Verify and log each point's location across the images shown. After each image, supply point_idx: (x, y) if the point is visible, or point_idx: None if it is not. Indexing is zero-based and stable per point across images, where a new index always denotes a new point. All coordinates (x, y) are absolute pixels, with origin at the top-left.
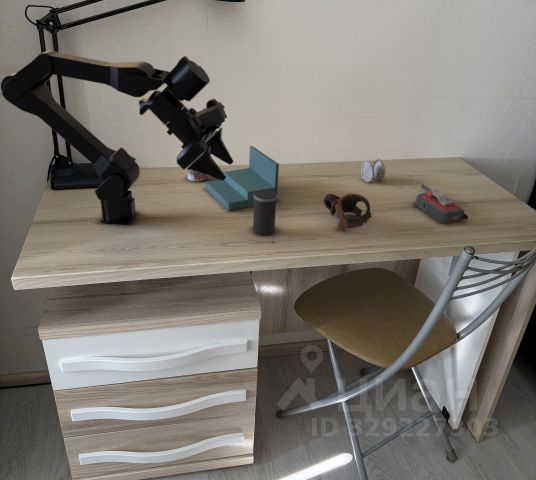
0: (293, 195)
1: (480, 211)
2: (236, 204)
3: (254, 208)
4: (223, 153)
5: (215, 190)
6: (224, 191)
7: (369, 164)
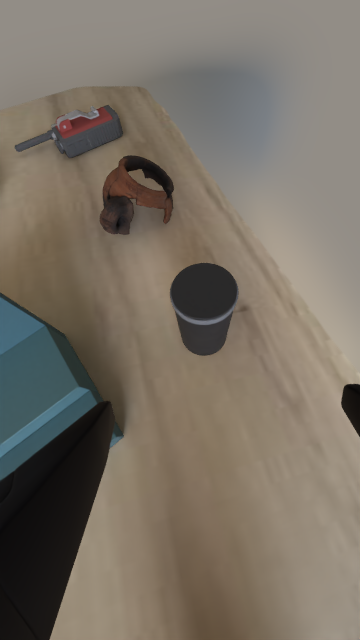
0: (34, 308)
1: None
2: None
3: (219, 331)
4: (75, 477)
5: None
6: None
7: None
